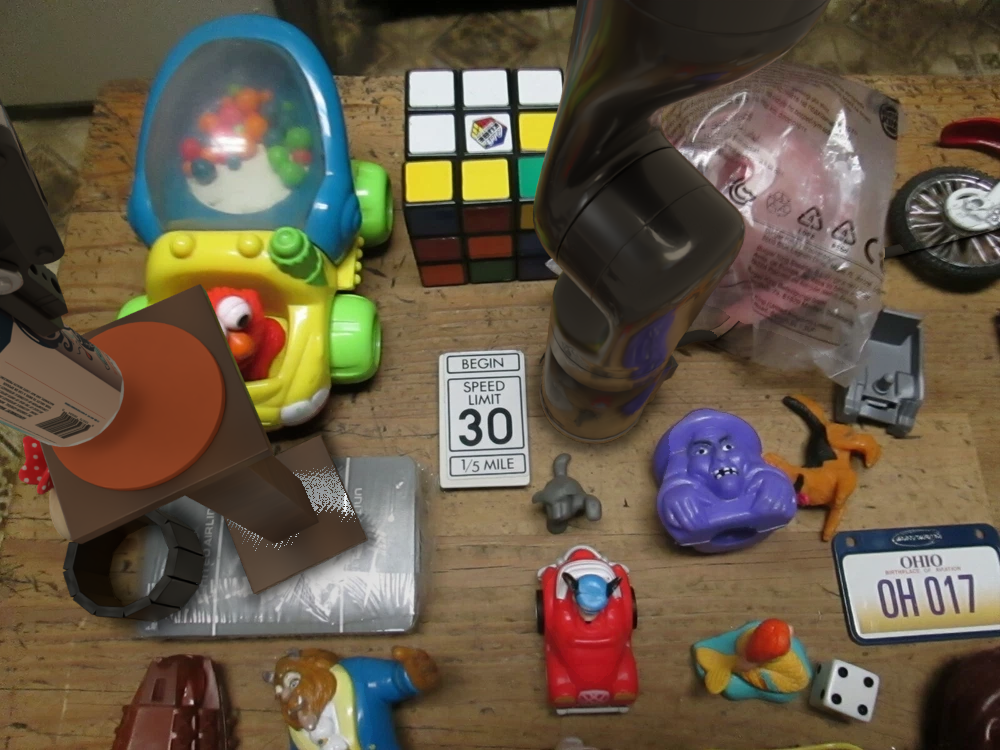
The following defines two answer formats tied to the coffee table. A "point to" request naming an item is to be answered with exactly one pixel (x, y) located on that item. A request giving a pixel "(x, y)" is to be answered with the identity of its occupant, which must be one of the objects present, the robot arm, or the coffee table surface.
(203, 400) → the disc
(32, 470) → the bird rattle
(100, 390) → the beer can
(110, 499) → the stand
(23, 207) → the robot arm
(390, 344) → the coffee table surface
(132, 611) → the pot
